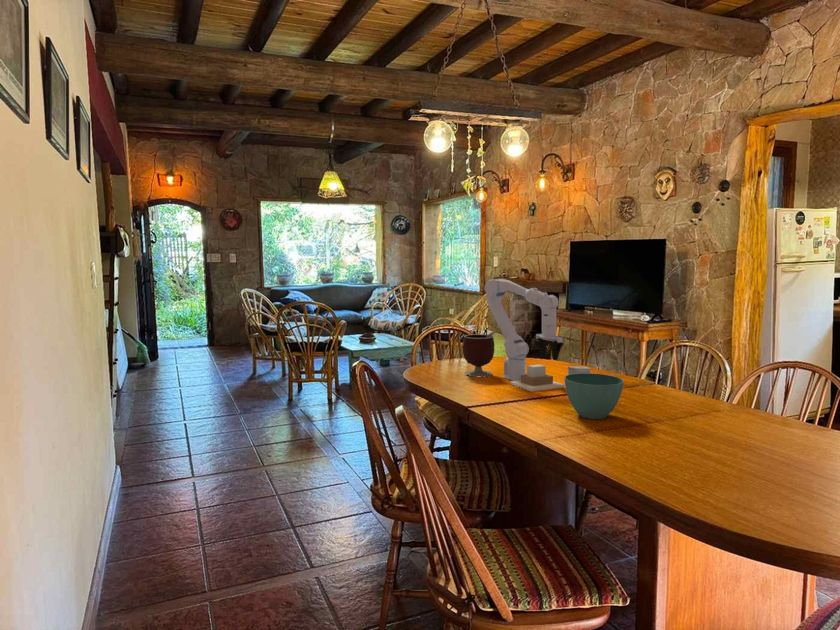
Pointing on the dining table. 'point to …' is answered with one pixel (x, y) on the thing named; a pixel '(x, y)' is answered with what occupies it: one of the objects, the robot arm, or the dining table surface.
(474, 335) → the mate gourd
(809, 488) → the dining table surface
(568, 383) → the teal bowl
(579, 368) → the medicine box
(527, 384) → the slot stand
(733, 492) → the dining table surface
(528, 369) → the block
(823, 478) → the dining table surface
